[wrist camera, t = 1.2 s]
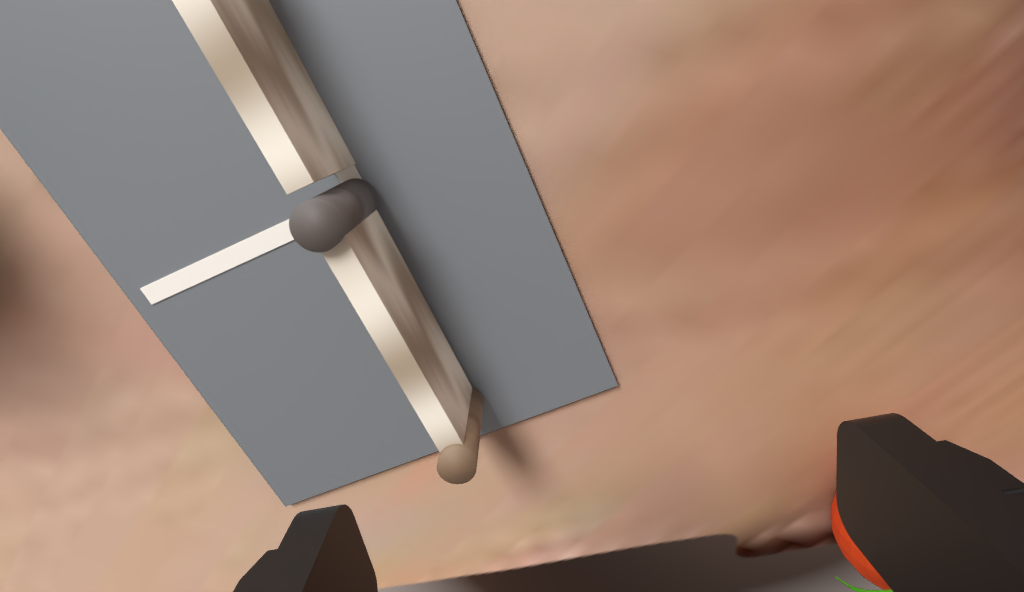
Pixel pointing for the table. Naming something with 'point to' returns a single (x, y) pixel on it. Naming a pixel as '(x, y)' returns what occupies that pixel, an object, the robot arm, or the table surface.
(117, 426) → the table surface
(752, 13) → the table surface
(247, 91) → the fixed fence section
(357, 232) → the swinging fence section
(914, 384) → the table surface
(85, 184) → the card
